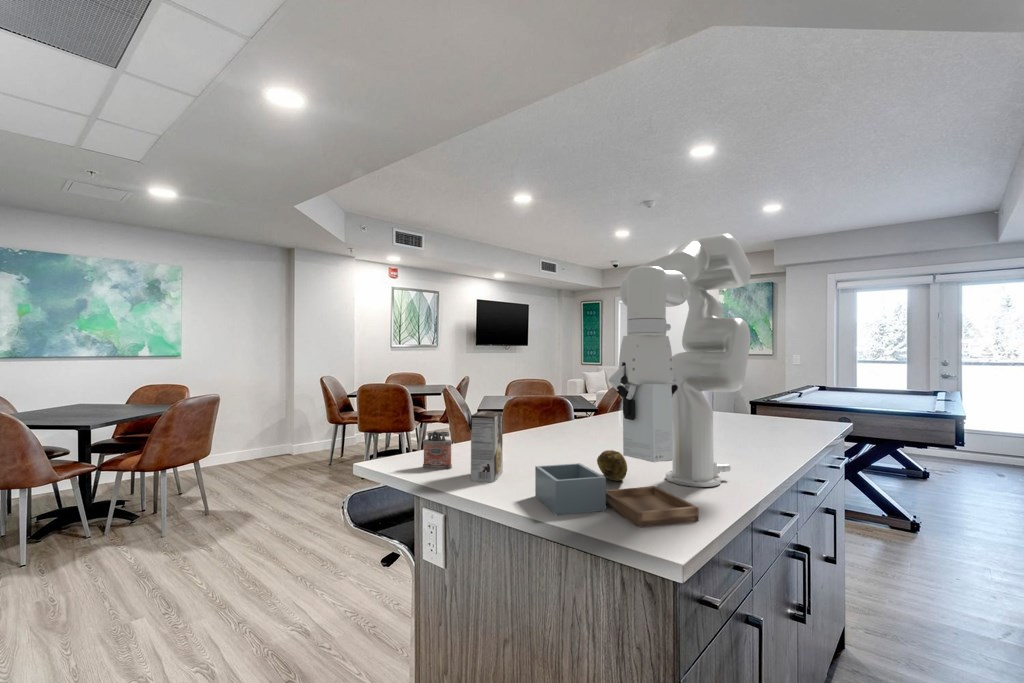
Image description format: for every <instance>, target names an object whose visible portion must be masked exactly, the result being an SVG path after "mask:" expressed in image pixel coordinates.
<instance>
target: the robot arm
mask: <svg viewBox="0 0 1024 683" xmlns="http://www.w3.org/2000/svg"><path fill="white" fill-rule="evenodd" d="M751 270H752V269H751V263H750V261H749V258H748V257H747V255H746V253H745V250H743V248H742V246H741V244H740V242H738V240H737V239H736V238H735V237H734V236H733V235H731V234H729V233H722V234H715V235H707V236H700V237H694V238H691V239H687V240H685V241H683V242H682V243H681V244H679V246H677V247H676V248H675V249H674V250H673V251H672V252H671V253H669V254H667V255H666V254H665V255H664V256H661V257H659V258H657V259H654V260H652V261H649V262H646V263H643V264H641V265H639V266H637V267H633V268H631V269H629V270H628V272H627V274H626V275H625V277H624V278H622V279H623V280H622V281H621V284H620V288H619V296H620V300H621V302H622V304H623V305H625V306H626V335H623V336H622V340H621V344H620V348H619V349H620V350H619V361H618V369H617V370H616V371H614V373H613V374H612V375H611V376H610V377H609V378H608V382H609V383H610V384H611V386H612V387H613V389H614V390H615V392H616V393H617V394H618V395H619V396H620V398H621V399H622V415H623V414H624V418H625V419H629V420H634V419H635V400H634V399H632V397H633V395H634V393H635V391H636V388H637V386H641V385H643V384H671V389H672V434H673V459H672V461H671V464H672V465H671V467H672V468H671V470H669V471H667V472H666V473H665V478H666V480H667V481H669V482H671V483H673V484H676V485H680V486H687V487H693V488H694V487H695V488H697V487H698V488H706V487H707V488H709V487H710V488H711V487H717V486H718V485H720V484H721V483H722V479H721V477H720V476H719V475H718V474H720V473H727V472H728V473H729V472H731V470H732V466H731V465H730V464H729V463H721V464H719V463H718V462H716V461H715V460H714V459H715V457H714V456H715V455H714V452H715V451H714V450H715V449H714V446H715V445H714V410H713V406H712V404H711V402H710V401H709V399H708V398H707V397H706V396H705V394H704V393H703V392H716V393H719V392H720V393H734V392H738V391H740V390H741V388H742V387H743V385H744V383H745V378H746V374H747V369H748V368H747V367H748V361H749V354H750V348H751V331H750V330H751V329H750V327H749V325H748V323H747V322H746V321H745V320H744V319H742V318H739V317H723V316H724V315H723V313H724V309H723V306H722V304H721V303H720V302H719V301H718V299H717V298H715V297H714V296H713V295H712V294H710V293H709V292H708V291H712V290H713V291H714V290H727V289H739V288H742V287H745V286H746V285H747V284H748V283H749V281H750V279H751V274H752V273H751V272H752V271H751ZM685 302H687V305H688V312H687V317H686V320H685V324H684V328H683V331H682V332H683V333H682V335H681V336H682V337H681V338H682V339H681V346H682V348H683V350H684V351H682V352H677V353H676V354H674V355H673V353H672V352H673V351H672V346H671V341H670V337H669V335H667V332H669V331H670V330H671V328H672V327H671V324H670V323H667V318H666V317H667V313H666V312H667V307H668V308H671V307H676V306H680V305H682V304H684V303H685ZM623 384H624V387H623Z"/></svg>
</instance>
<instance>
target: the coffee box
mask: <svg viewBox="0 0 1024 683" xmlns="http://www.w3.org/2000/svg"><path fill="white" fill-rule="evenodd" d="M503 444H504V443H503V411H493V410H480V411H477V412H475V413H473V414H472V415H470V481H473V482H487V483H490V482H491V483H495V482H496V481H498V479H499V477H500V476H501V475H502V474H503V472H504V470H503V467H504V466H503V465H504V464H503Z"/></svg>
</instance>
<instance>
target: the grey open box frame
mask: <svg viewBox="0 0 1024 683" xmlns="http://www.w3.org/2000/svg"><path fill="white" fill-rule="evenodd" d="M534 470H535V474H534V475H535V481H534V482H535V490H534V491H535V496H534V497H535V498H536V499H538V500H539V501H540V502H541V503H542V504H543V505H544V506H545V507H547V509H549V510H550V511H551V512H552V513H553V514H555V516H560V515H569V514H570V515H571V514H580V513H581V514H582V513H590V512H600V511H606V509H607V508H606V507H607V506H606V490H607V489H606V486H607V482H606V481H607V480H606V479H607V477H606V476H605V475H602V474H600V473H599V472H597V471H595V470H593V469H592V468H589V467H588V466H586V465H584V464H583V463H581V462H579V463H566V464H565V463H563V464H549V465H535V469H534Z"/></svg>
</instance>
